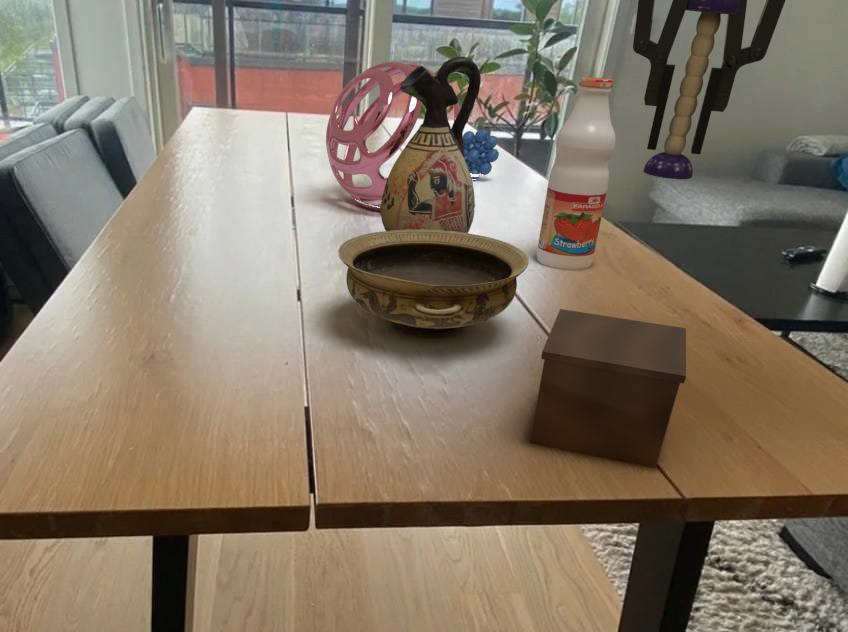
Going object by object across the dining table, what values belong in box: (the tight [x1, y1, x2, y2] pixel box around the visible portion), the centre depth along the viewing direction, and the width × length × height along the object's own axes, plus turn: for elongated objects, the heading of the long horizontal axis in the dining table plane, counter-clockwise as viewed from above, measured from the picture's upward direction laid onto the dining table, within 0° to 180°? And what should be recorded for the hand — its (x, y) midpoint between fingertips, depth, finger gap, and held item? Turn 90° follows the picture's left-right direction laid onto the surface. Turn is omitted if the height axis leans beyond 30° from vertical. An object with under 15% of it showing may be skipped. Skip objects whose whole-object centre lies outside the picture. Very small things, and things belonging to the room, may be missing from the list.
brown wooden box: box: [529, 308, 687, 469], centre depth 76 cm, size 13×13×10 cm
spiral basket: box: [325, 60, 461, 212], centre depth 154 cm, size 28×28×27 cm
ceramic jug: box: [379, 56, 482, 233], centre depth 123 cm, size 17×15×30 cm
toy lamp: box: [643, 0, 740, 180], centre depth 65 cm, size 5×5×17 cm
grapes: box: [462, 128, 500, 180], centre depth 185 cm, size 12×7×12 cm, turn 71°
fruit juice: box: [536, 76, 617, 271], centre depth 123 cm, size 9×9×28 cm
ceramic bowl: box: [337, 229, 530, 338], centre depth 99 cm, size 30×24×10 cm
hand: (673, 149), depth 68 cm, fingers closed on toy lamp, 3 cm apart
